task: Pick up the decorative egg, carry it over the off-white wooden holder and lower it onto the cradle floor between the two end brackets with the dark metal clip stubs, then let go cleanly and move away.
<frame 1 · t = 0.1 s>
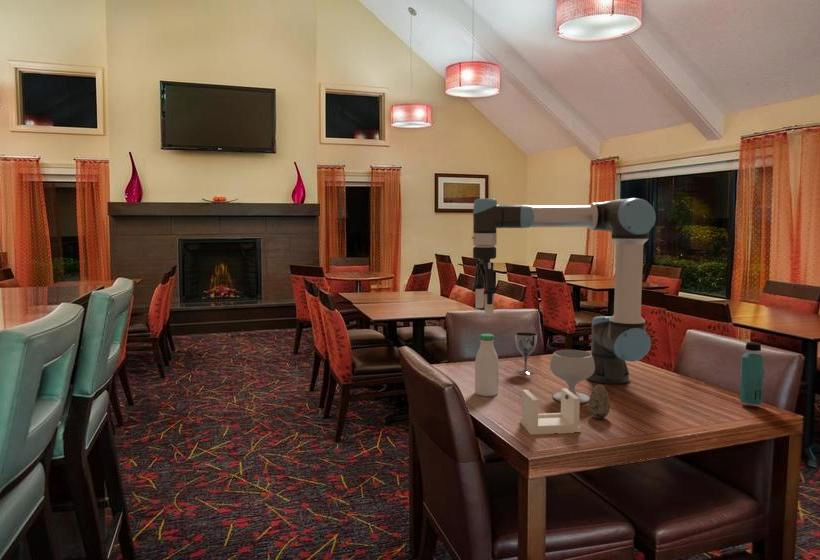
hand: (484, 311, 196), 28 cm above the table, tool pointing down, fingers open, 13 cm apart
holder: (549, 427, 167), on the table
beverage bottle: (750, 406, 184), on the table
decorative egg: (599, 418, 174), on the table
milk bottle: (486, 394, 199), on the table
chalice: (571, 399, 193), on the table
wine glass: (525, 373, 226), on the table
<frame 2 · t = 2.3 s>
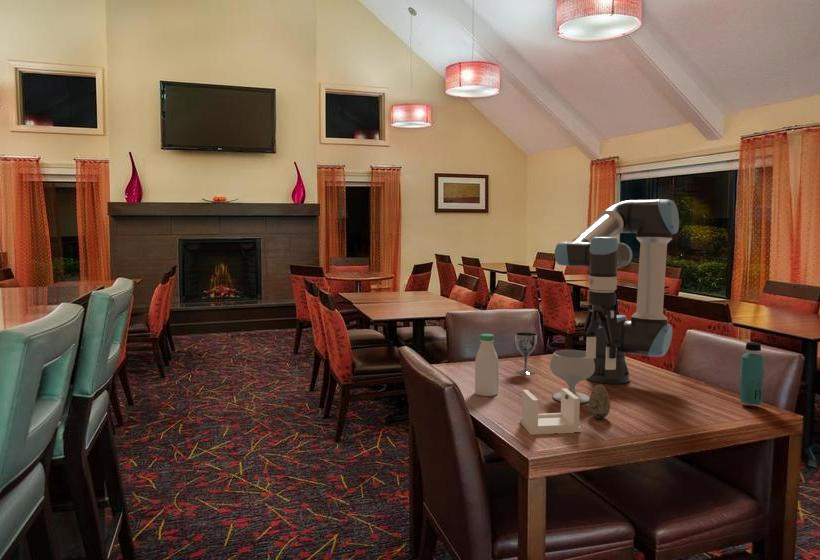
hand: (600, 363, 173), 16 cm above the table, tool pointing down, fingers open, 13 cm apart
nothing on the table moved.
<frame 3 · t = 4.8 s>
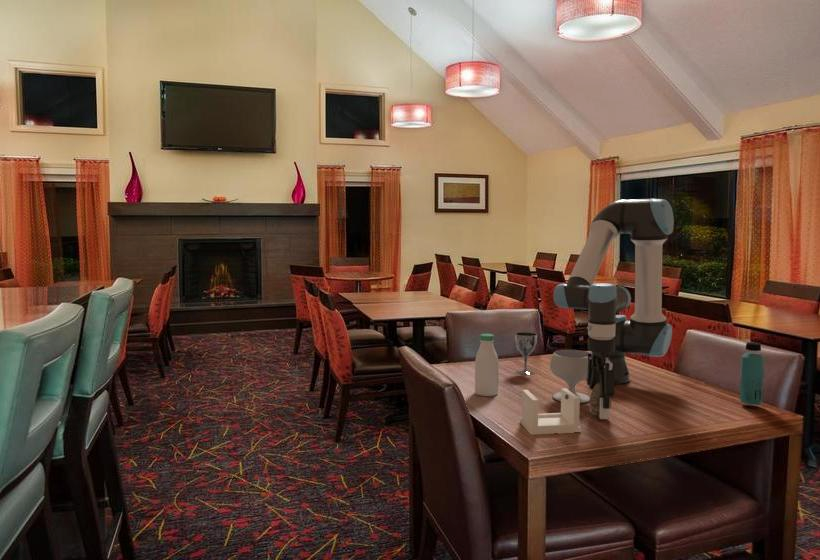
hand: (599, 414, 174), 1 cm above the table, tool pointing down, fingers closed on decorative egg, 6 cm apart
decorative egg: (600, 416, 175), on the table, touching gripper
everything else where it was.
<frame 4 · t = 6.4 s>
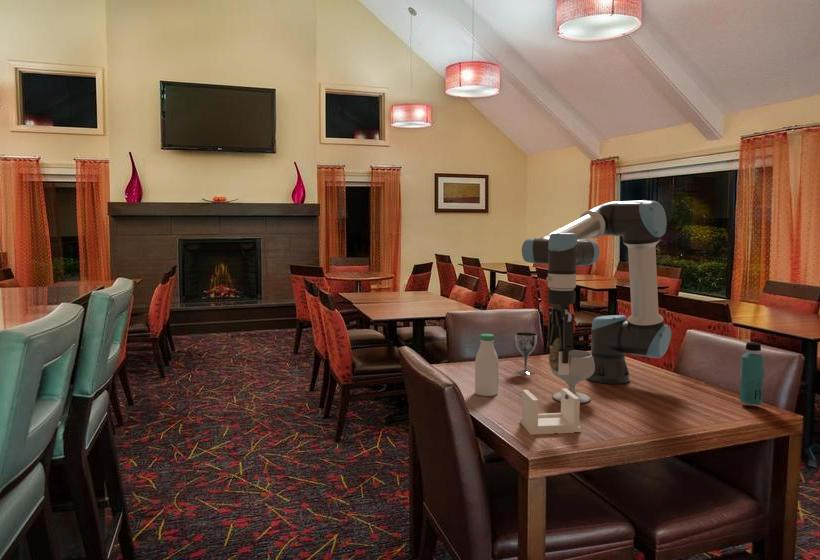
hand: (559, 371, 166), 16 cm above the table, tool pointing down, fingers closed on decorative egg, 6 cm apart
decorative egg: (559, 372, 166), point 15 cm above the table, touching gripper
everything else where it was.
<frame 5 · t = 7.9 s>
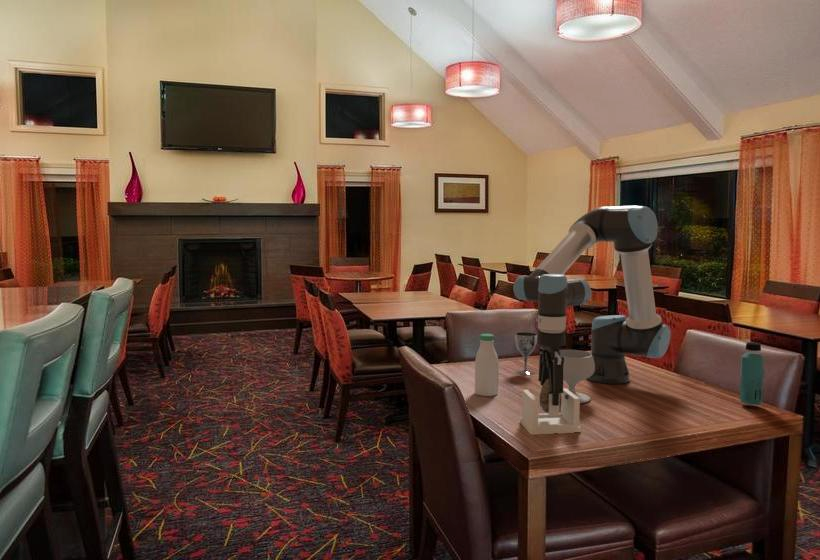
hand: (549, 412, 166), 4 cm above the table, tool pointing down, fingers closed on decorative egg, 6 cm apart
decorative egg: (550, 413, 166), point 4 cm above the table, touching gripper
everything else where it was.
when the fingers open (3 cm above the table, at t = 8.3 s): decorative egg drops 2 cm, resting on holder.
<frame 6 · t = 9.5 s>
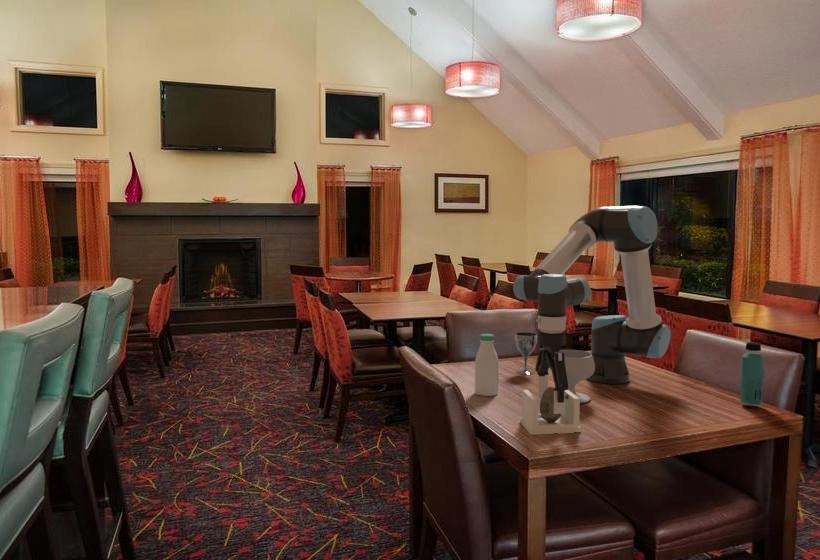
hand: (550, 405, 166), 6 cm above the table, tool pointing down, fingers open, 13 cm apart
decorative egg: (550, 422, 166), point 1 cm above the table, touching holder
everything else where it was.
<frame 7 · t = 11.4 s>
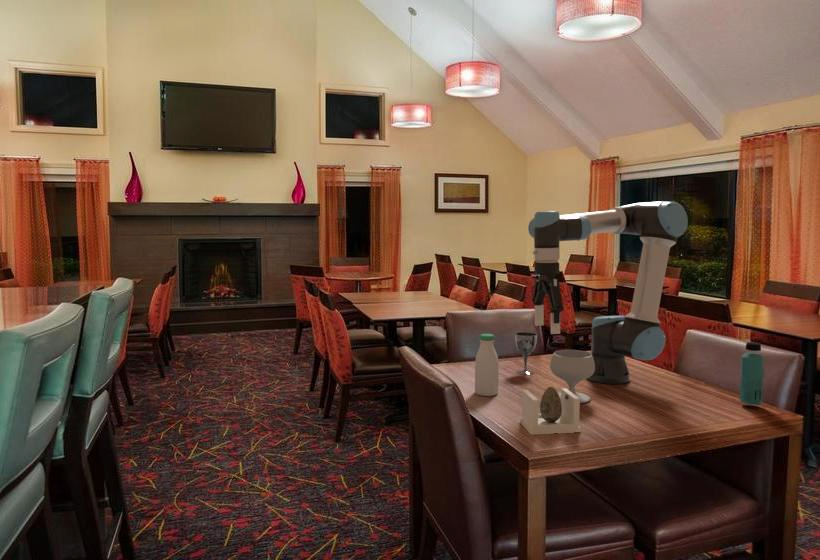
hand: (547, 329, 185), 24 cm above the table, tool pointing down, fingers open, 13 cm apart
nothing on the table moved.
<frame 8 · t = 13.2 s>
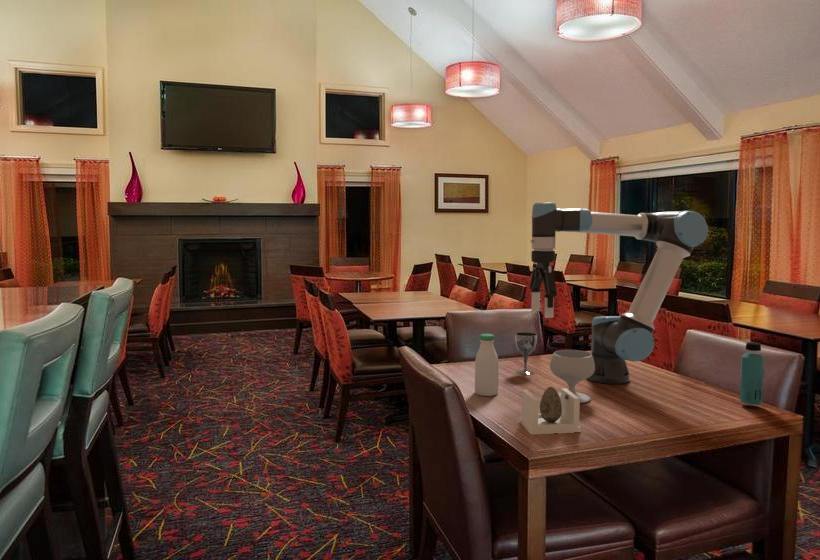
hand: (542, 314, 196), 27 cm above the table, tool pointing down, fingers open, 13 cm apart
nothing on the table moved.
at the end: decorative egg inside the target area on the holder (0.2 cm from its centre), point 1.3 cm above the holder's base; decorative egg tilted 0°; the gripper is holding nothing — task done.
